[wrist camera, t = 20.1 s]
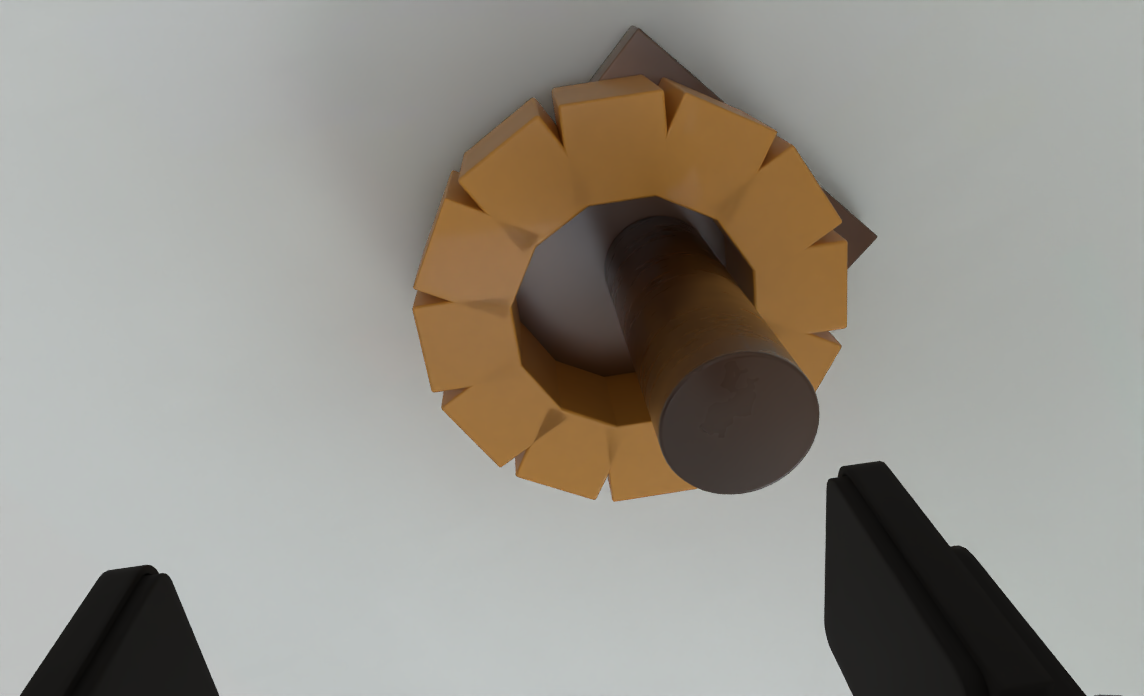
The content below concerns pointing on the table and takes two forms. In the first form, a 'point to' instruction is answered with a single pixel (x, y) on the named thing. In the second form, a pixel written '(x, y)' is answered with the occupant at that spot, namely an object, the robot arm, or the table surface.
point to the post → (676, 321)
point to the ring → (555, 196)
